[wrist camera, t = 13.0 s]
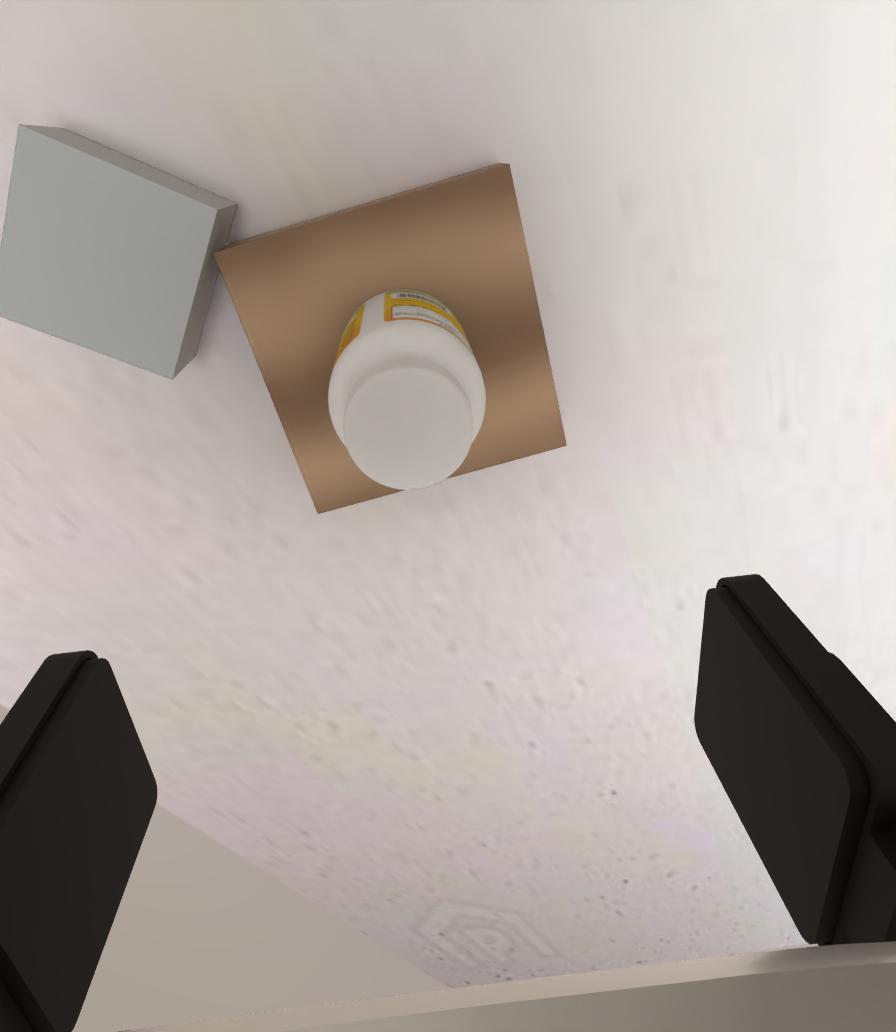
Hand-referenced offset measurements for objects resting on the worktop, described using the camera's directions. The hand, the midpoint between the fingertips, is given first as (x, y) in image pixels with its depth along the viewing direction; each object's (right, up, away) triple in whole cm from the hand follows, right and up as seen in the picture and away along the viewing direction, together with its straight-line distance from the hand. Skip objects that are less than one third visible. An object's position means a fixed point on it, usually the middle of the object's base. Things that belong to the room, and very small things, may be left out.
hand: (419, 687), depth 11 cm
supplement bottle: (-1, +10, +19) cm, 21 cm away
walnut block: (-2, +11, +22) cm, 24 cm away
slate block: (-13, +14, +19) cm, 27 cm away
